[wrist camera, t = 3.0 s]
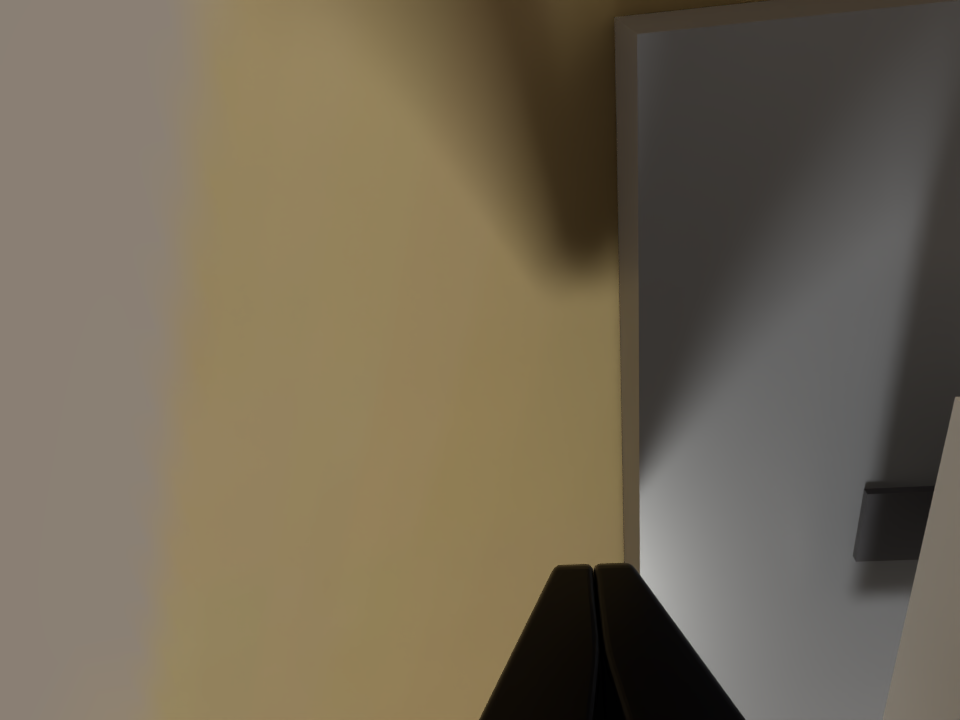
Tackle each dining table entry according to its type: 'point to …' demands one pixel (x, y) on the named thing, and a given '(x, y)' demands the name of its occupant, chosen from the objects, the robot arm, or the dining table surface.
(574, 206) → the dining table surface
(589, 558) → the dining table surface
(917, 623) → the fader knob
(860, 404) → the mixer panel
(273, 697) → the dining table surface
